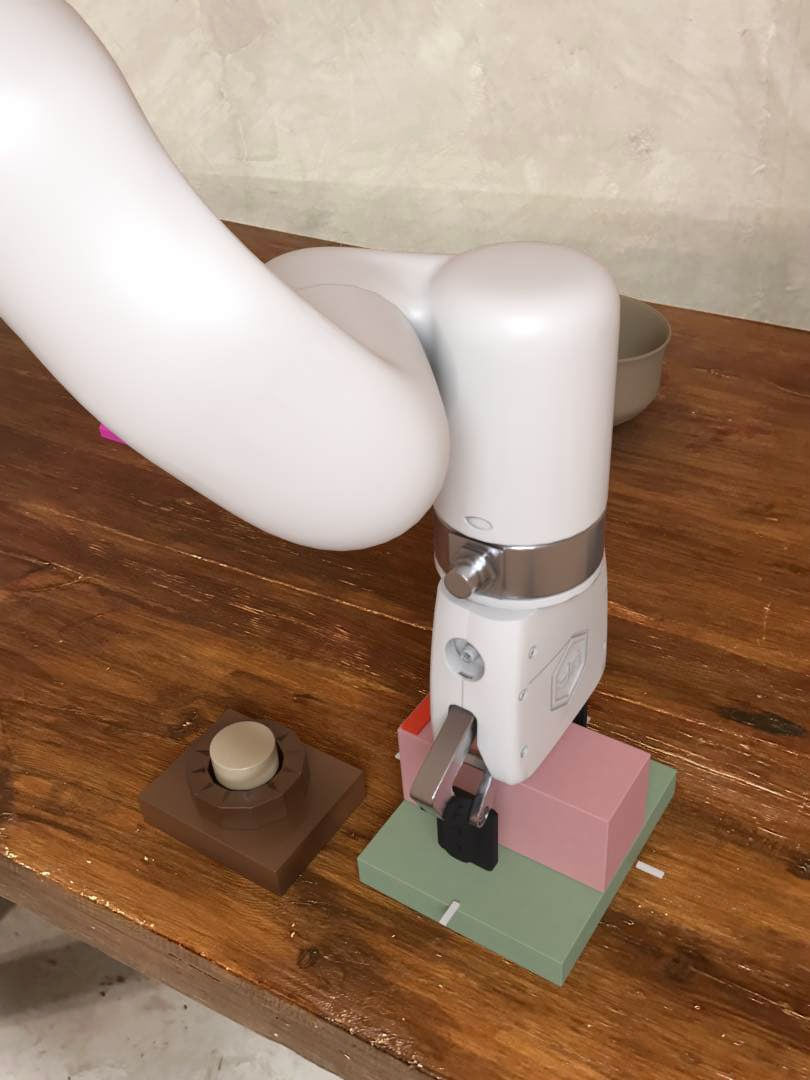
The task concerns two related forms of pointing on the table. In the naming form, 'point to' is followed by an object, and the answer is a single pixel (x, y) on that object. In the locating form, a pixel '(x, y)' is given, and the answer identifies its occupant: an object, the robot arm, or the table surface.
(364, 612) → the table surface
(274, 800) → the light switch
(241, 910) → the table surface
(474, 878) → the green mat
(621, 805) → the pink bar
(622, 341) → the bowl
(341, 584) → the table surface
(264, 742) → the button
